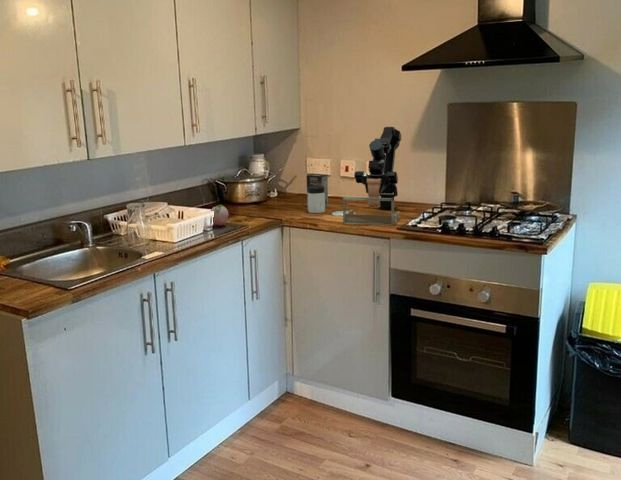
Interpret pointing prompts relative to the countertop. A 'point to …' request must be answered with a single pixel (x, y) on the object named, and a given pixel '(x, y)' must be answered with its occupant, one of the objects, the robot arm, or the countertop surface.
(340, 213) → the saucer
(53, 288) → the countertop surface
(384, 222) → the box
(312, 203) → the jar
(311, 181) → the coffee box
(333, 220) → the countertop surface
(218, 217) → the decorative fruit
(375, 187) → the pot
